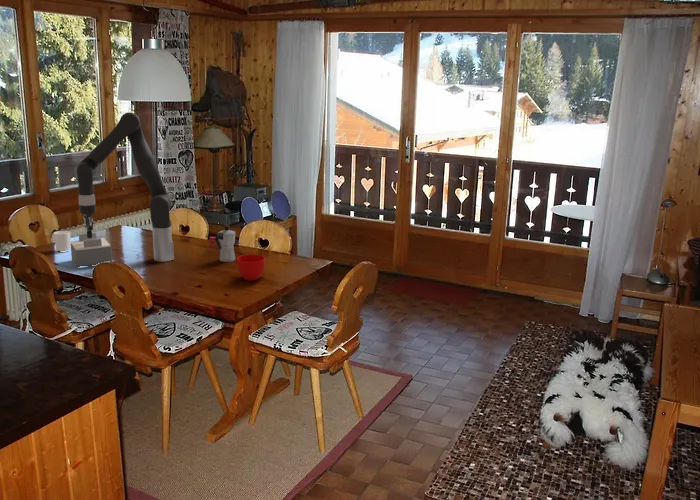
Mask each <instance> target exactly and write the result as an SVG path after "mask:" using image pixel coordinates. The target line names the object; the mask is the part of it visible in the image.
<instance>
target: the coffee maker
mask: <svg viewBox="0 0 700 500" xmlns="http://www.w3.org/2000/svg"><path fill="white" fill-rule="evenodd" d="M229 228H230V226H229V225H224V229H223V230H221V231H219V232H217V235H215V237H214V241H215V244H216V245H217V247H218V249H219V250H220V253H219V262H224V263H232V262H236V254H235V253H236V252H235V249H234V245H235V241H236V231H235V230H230V229H229Z"/></svg>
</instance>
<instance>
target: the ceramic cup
mask: <svg viewBox="0 0 700 500" xmlns="http://www.w3.org/2000/svg"><path fill="white" fill-rule="evenodd" d="M235 259H236V260H235V264H236V265H237V269H238V272H239V274H240V276H241V277H242V278H243V279H244V280H246V281H257V280H258V279H259V278H260V277H261V276H262V275H263V273H264V270H265V265H266V257H265V256H263V255H260V254H254V253H253V254H243V255H239V256H235Z"/></svg>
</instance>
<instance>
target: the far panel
mask: <svg viewBox="0 0 700 500" xmlns="http://www.w3.org/2000/svg"><path fill="white" fill-rule="evenodd" d="M100 238H101V242H108V241H107V240H106V238H105V237H100ZM89 239H99V238H97V233H96V232H92V238H87V232H86V233H78V240H70V243H71V244H72V246H73V245H78V244H83V240H89ZM71 244H70V245H71Z"/></svg>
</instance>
